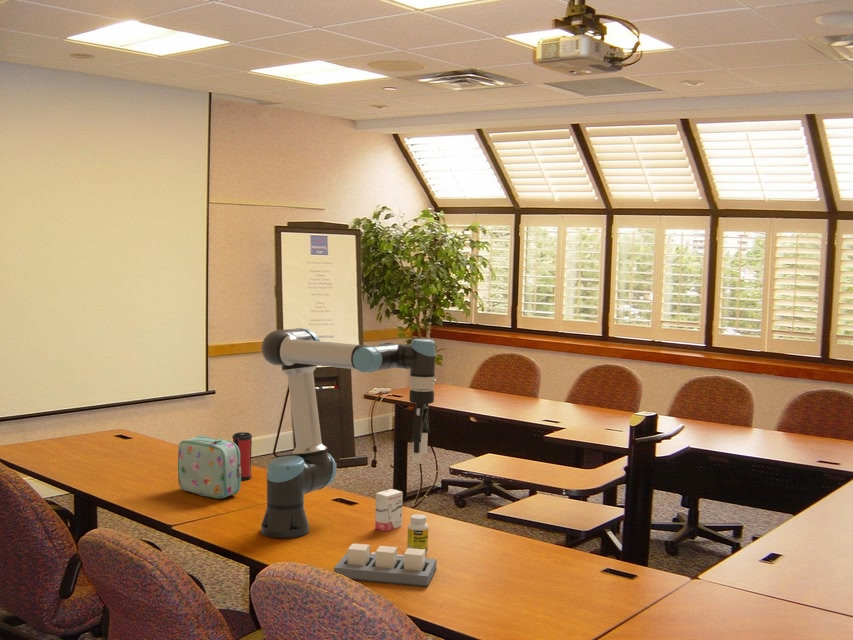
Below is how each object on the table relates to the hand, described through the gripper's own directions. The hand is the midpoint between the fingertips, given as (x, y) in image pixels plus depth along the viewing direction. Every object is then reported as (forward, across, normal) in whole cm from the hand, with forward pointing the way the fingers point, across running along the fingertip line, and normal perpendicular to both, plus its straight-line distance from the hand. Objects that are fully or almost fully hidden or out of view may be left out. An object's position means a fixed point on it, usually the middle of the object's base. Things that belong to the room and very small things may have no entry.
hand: (419, 458), depth 263 cm
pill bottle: (+27, -8, -1) cm, 28 cm away
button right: (+24, -28, -3) cm, 37 cm away
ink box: (+27, +15, +12) cm, 33 cm away
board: (+27, -28, +5) cm, 39 cm away
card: (+27, -15, +6) cm, 32 cm away
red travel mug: (+28, +66, +80) cm, 108 cm away
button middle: (+24, -27, +5) cm, 37 cm away
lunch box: (+28, +41, +83) cm, 97 cm away
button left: (+24, -27, +13) cm, 39 cm away
